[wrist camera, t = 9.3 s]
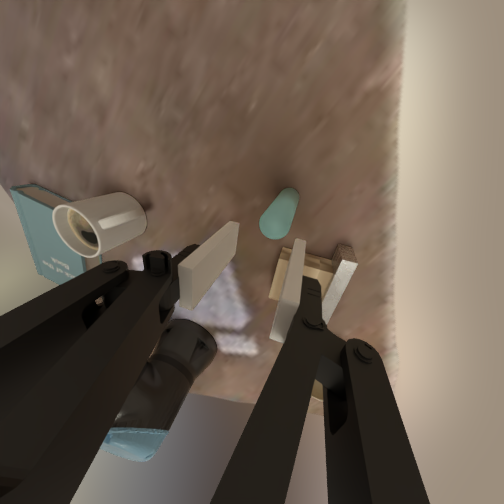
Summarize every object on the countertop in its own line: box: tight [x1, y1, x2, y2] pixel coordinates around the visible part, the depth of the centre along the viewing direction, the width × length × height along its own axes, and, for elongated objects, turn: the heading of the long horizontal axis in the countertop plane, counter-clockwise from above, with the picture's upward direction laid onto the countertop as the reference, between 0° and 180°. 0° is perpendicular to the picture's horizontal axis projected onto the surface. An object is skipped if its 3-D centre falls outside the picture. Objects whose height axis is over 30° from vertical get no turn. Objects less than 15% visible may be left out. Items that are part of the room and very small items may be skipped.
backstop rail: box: [322, 244, 358, 325], centre depth 31 cm, size 2×14×5 cm, turn 171°
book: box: [10, 184, 102, 285], centre depth 46 cm, size 23×16×5 cm
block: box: [269, 247, 333, 301], centre depth 33 cm, size 8×8×4 cm
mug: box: [52, 192, 147, 258], centre depth 35 cm, size 11×10×10 cm
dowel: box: [259, 188, 299, 239], centre depth 24 cm, size 3×3×12 cm
